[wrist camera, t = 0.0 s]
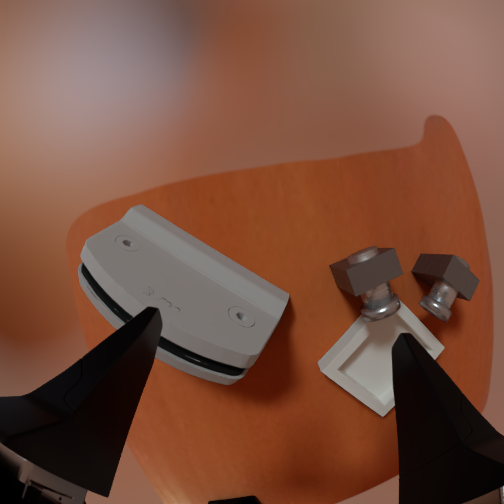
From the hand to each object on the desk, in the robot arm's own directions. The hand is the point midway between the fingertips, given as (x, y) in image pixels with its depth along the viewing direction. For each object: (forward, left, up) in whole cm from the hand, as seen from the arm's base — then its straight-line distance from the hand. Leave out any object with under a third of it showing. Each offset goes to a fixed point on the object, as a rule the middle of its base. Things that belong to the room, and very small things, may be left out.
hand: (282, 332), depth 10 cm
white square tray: (-10, -7, -15) cm, 19 cm away
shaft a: (-6, -14, -15) cm, 21 cm away
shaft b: (-2, -7, -15) cm, 17 cm away
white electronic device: (+3, +7, -15) cm, 17 cm away
